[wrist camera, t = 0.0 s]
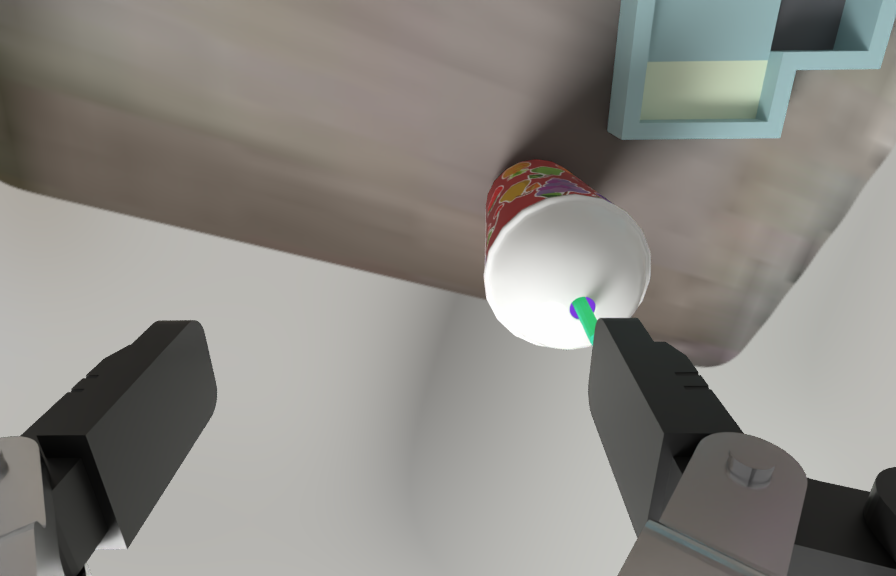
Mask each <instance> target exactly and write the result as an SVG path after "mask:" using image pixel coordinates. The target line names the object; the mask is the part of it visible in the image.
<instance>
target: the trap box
mask: <svg viewBox="0 0 896 576" xmlns="http://www.w3.org/2000/svg"><path fill="white" fill-rule="evenodd" d="M895 17H896V0H621V6H620V15H619V25H618V34H617V44H616V53H615V62H614V72H613V81H612V90H611V100H610V109H609V118H608V128H607V131H608V132H609V133H611V134H613V135H614V136H616V137H618V138H619V139H621V140H648V139H739V138H780V137H781V132H782V128H783V124H784V120H785V115H786V111H787V107H788V103H789V99H790V94H791V90H792V86H793V82H794V77H795V73H796V70H835V69H880V67H881V64H882V61H883V57H884V54H885V50H886V47H887V44H888V40H889V37H890V34H891V30H892V27H893V23H894V20H895Z"/></svg>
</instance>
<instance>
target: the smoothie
mask: <svg viewBox="0 0 896 576" xmlns="http://www.w3.org/2000/svg"><path fill="white" fill-rule="evenodd" d="M483 276H484V284H485V291H486V299H487V301H488V303H489V305H490V306H491V308H492V310H493V312H494V314H495V316H496V318H497V320H498V321H500V322H501V323H502V324H503V325H504V326H505V327H506V328H507V329H508V330H509V331H510V332H511V333H512V334H513V335H515V336H517V337H519V338H521V339H523V340H526V341H528V342H530V343H532V344H534V345H539V346H545V347H550V348H556V349H563V350H571V349H578V348H585V347H590V346H592V345H593V340H594V331H595V326H596V322H597V320H598V319H599V318H631V317H632V316H633V314H634V313H635V312H636V310H637V308H638V306H639V305H640V303H641V302H642V301H643V298H644V295H645V292H646V290H647V287H648V284H649V281H650V278H651V252H650V249H649V246H648V244H647V241H646V238H645V236H644V233H643V230H642V229H641V228H640V227H639V226H638V224H637V223H636V222H635V221H634V220H633V219H632V218H631V216H630V215H629V214H628V213H627V212H626V211H625V210H623V209H621V208H619V207H617V206H615V205H614V204H613V203H611V202H610V201H609V200H607V199H606V198H604V197H603V196H602V195H600V194H599V193H598V192H596V191H595V190H594V189H592V188H591V187H589V186H588V185H587V184H585V183H584V182H583V181H581V180H580V179H579V178H577V177H576V176H574V175H573V174H572V173H570V172H569V171H568V170H566V169H565V168H563V167H562V166H560V165H558V164H556V163H554V162H552V161H546V160H538V159H534V160H528V161H523V162H519V163H517V164H515V165H514V166H512V167H510V168H508V169H506V170H505V171H504V172H503V173H502V174H501V175H500V176H499V177H498V178H497V179H496V180H495V181H494V183H493V185H492V187H491V189H490V191H489V193H488V197H487V203H486V217H485V271H484V275H483Z"/></svg>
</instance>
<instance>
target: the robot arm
mask: <svg viewBox="0 0 896 576" xmlns="http://www.w3.org/2000/svg"><path fill="white" fill-rule="evenodd" d="M588 395H589V405H590V411H591V414H592V417H593V420H594V423H595V425H596V428H597V431H598V433H599V436H600V438H601V441H602V444H603V447H604V450H605V452H606V455H607V457H608V460H609V463H610V466H611V468H612V471H613V474H614V476H615V479H616V482H617V484H618V487H619V490H620V492H621V495H622V498H623V501H624V503H625V506H626V508H627V511H628V514H629V517H630V519H631V522H632V525H633V527H634V530H635V533H636V535H637V538H638V539H637V541H636V542H635V544H634V546H633V548H632V550H631V552H630V553H629V555H628V557H627V559H626V561H625V563H624V565H623V567H622V568H621V570H620V572H619V574H618V576H896V467H893V468H888V469H886V470H883V471H882V472H880V473H879V474H878V476H877V478H876V479H875V482H874V484H873V487H872V489H871V492H868V491H863V490H858V489H853V488H849V487H844V486H840V485H835V484H830V483H826V482H821V481H817V480H813V479H809V478H807V477H806V474H805V472H804V470H803V468H802V467H801V466H800V464H799V463H798V462H797V461H796V460H795V459H794V458H793V457H792V456H791V455H789V454H788V453H787V452H786V451H784V450H783V449H781V448H779V447H778V446H776V445H774V444H772V443H770V442H768V441H766V440H763V439H761V438H758V437H755V436H751V435H747V434H744V433H743V432H742V430H740V428H739V426H738V425H737V424H736V422H735V421H734V420H733V418H732V417H731V416H730V414H729V413H728V411H727V410H726V409H725V407H724V406H723V405H722V403H721V402H720V401H719V399H718V398H717V397H716V395H715V394H714V393H713V391H712V390H710V389H709V388H708V384H707V383H706V382H705V380H704V379H703V378H702V377H701V375H700V376H699V375H698V371H697V370H696V368H695V367H694V366H693V364H692V363H691V361H690V360H689V359H688V357H687V356H686V355H684V354H683V353H681V352H680V351H678V350H677V349H675V348H674V347H672V346H671V345H669V344H668V343H666V342H654V341H653V340H652V338H651V337H650V335H649V334H648V332H647V331H646V329H645V328H644V326H643V325H642V323H641V322H640V320H639V319H638V318H599V319H598V320H597V322H596V326H595V331H594V340H593V349H592V358H591V366H590V375H589V385H588ZM216 400H217V386H216V381H215V377H214V372H213V368H212V364H211V359H210V355H209V351H208V346H207V342H206V337H205V333H204V329H203V327H202V326H201V324H200V323H199V322H198V321H195V320H188V321H187V320H184V321H183V320H182V321H181V320H180V321H157V322H155V323H153V324H152V325H151V326H150V327H149V328H148V329H147V330H146V331H145V332H144V333H143V334H142V335H141V336H140V337H139V338H138V339H137V340H136V341H134V342H133V343H132V344H131V345H128V346H127V347H125V348H123V349H121V350H119V351H117V352H116V353H114V354H112V355H110V356H108V357H106V358H105V359H103V360H102V361H101V362H100V363H99V364H98V365H97V366H96V367H95V368H94V369H92V370H91V371H90V372H89V373H88V374H87V375H86V378H83V379H82V380H81V381H79V382H78V383H77V384H76V385H75V386H74V387H73V388H72V391H71V392H68V393H66V394H65V395H64V396H63V397H62V398H61V399H60V400H59V401H58V402H57V403H56V404H54V405H53V406H52V407H51V408H50V409H49V410H48V411H47V412H46V413H45V414H44V415H43V416H41V417H40V418H39V419H38V420H37V421H36V422H35V423H34V424H33V425H32V426H31V427H29V428H28V429H27V430H26V431H25V432H24V433H23V434H22V435H21V436H10V437H2V438H0V576H92V575H91V572H90V569H89V567H88V564H87V560H88V559H89V558H90V556H91V554H92V553H93V552H94V551H95V549H128V547H129V546H130V544H131V542H132V541H133V539H134V538H135V536H136V535H137V533H138V531H139V530H140V528H141V527H142V525H143V524H144V522H145V521H146V519H147V517H148V516H149V514H150V513H151V511H152V509H153V508H154V506H155V505H156V503H157V501H158V500H159V498H160V497H161V495H162V494H163V492H164V491H165V489H166V487H167V486H168V484H169V483H170V481H171V480H172V478H173V476H174V475H175V473H176V471H177V470H178V468H179V467H180V465H181V464H182V462H183V461H184V459H185V458H186V456H187V454H188V453H189V451H190V450H191V448H192V446H193V445H194V443H195V441H196V440H197V439H198V437H199V435H200V434H201V432H202V431H203V429H204V428H205V426H206V424H207V423H208V421H209V420H210V418H211V416H212V415H213V412H214V409H215V406H216Z"/></svg>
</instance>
